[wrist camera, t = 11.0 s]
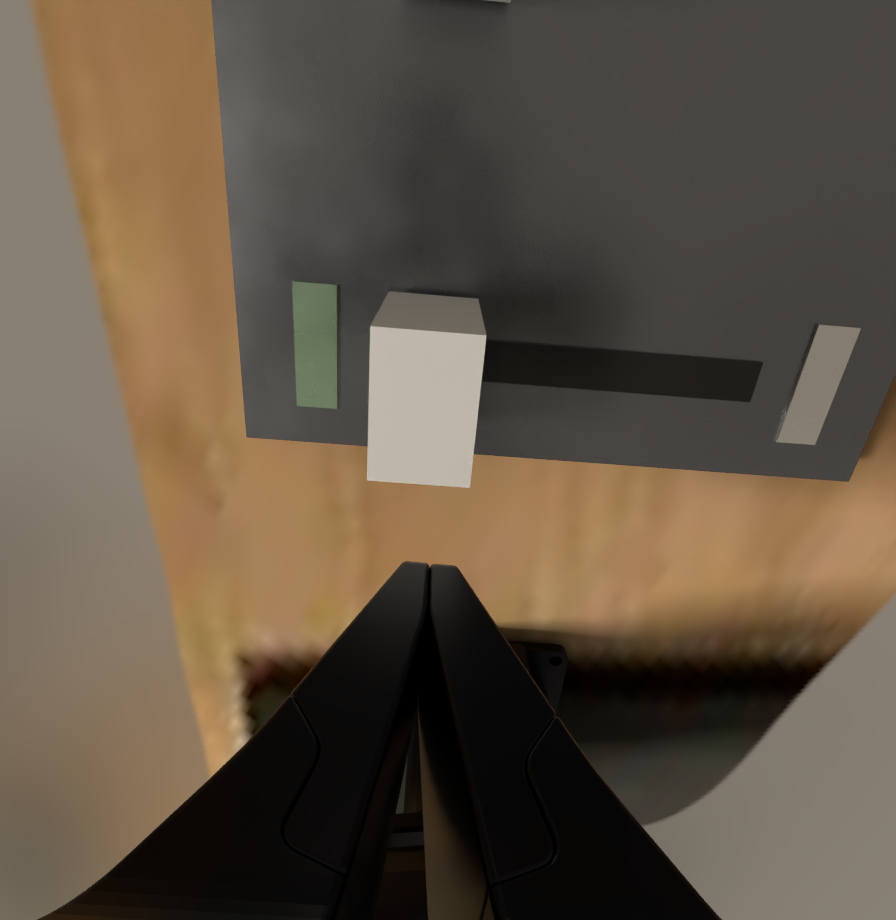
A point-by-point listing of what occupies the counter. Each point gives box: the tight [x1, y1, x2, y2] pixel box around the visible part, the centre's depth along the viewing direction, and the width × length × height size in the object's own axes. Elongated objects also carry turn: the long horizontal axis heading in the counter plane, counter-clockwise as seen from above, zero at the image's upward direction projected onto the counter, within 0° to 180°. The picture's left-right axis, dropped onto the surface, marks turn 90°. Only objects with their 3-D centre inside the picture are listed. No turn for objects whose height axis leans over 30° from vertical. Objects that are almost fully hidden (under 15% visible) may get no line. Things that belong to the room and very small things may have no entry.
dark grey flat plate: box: [211, 0, 896, 482], centre depth 15 cm, size 16×19×2 cm
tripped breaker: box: [367, 291, 487, 488], centre depth 14 cm, size 4×2×4 cm, turn 176°
